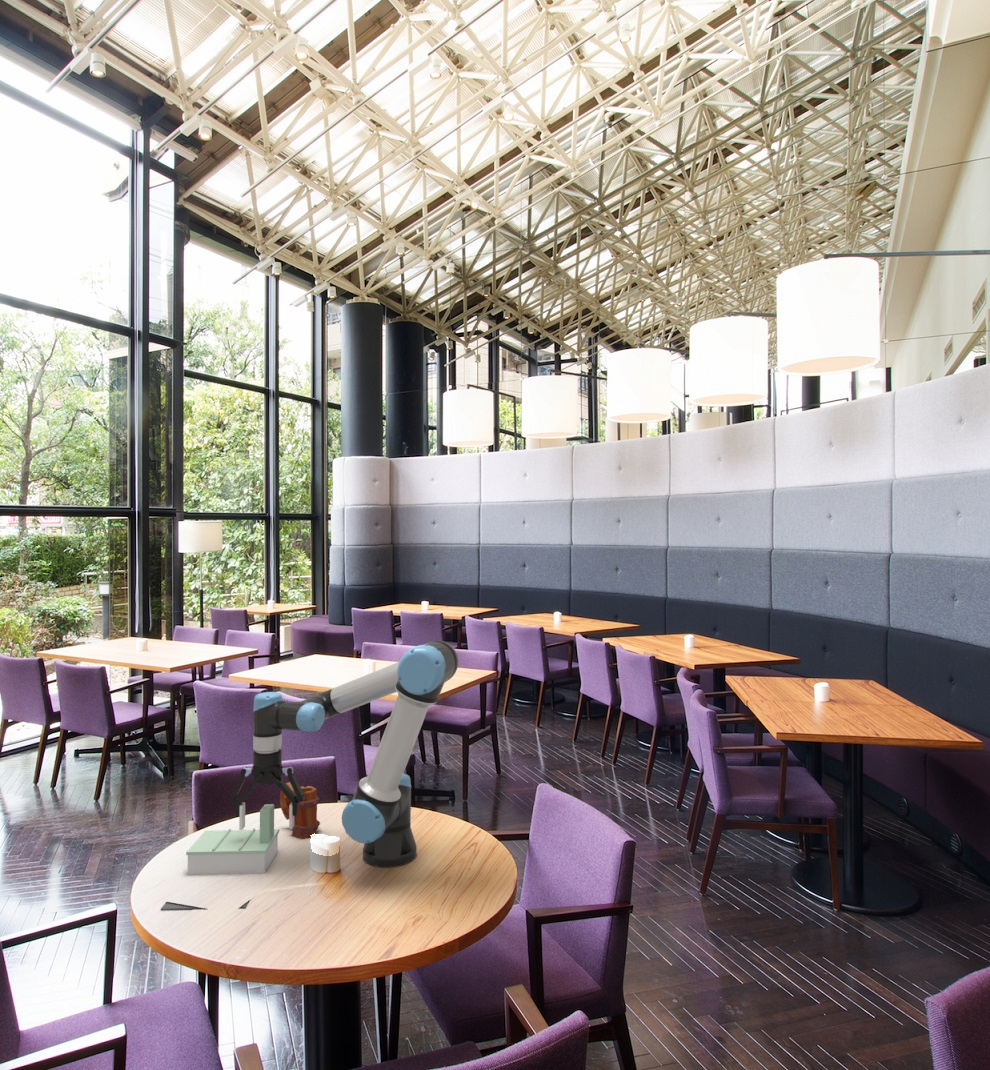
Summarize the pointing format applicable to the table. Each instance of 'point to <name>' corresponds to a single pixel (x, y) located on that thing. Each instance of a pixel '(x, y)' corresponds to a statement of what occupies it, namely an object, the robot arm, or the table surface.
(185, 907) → the mat
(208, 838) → the lid
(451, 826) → the table surface
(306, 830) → the mug
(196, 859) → the tub
